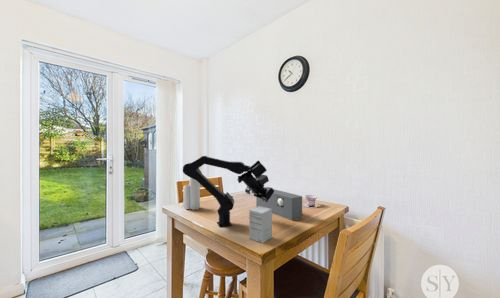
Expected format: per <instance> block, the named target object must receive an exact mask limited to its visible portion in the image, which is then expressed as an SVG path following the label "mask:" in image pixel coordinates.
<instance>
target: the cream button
mask: <svg viewBox="0 0 500 298" xmlns="http://www.w3.org/2000/svg"><path fill="white" fill-rule="evenodd" d="M278 205H279V206H284V198H279V199H278Z"/></svg>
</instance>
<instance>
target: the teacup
mask: <svg viewBox="0 0 500 298" xmlns="http://www.w3.org/2000/svg"><path fill="white" fill-rule="evenodd" d="M304 198H305V200H306V202H302V207H306V208H309V209H310V208H311V209H317V207H309V206H313V205H314V204H318V205H320V206H319V207H318V208H320V207H322V206H321V204H319V203H316V201H317V200H316V199H317V198H318V196H317V195H313V194H309V195H307V194H306V195H305V196H304ZM314 206H315V205H314Z"/></svg>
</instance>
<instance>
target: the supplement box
mask: <svg viewBox="0 0 500 298" xmlns="http://www.w3.org/2000/svg"><path fill="white" fill-rule="evenodd" d="M248 211H249V213H248V214H249V217H248V219H249V221H248V222H249V225H248V226H249V227H248V228H249V231H248V232H249V239H250V240H251V241H256V242H258V243H261V244H264V243H265V242H267V241H269V240H270V239H272V238H273V213H272V209H270V208H265V207H260V206H258V207H256V206H255V207H254V208H251V209H249V210H248Z"/></svg>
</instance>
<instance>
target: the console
mask: <svg viewBox="0 0 500 298" xmlns="http://www.w3.org/2000/svg"><path fill="white" fill-rule="evenodd" d="M266 187H267V186H264V188H266ZM273 189H274V188H273ZM279 198H284V206H279V205H278V199H279ZM255 200H256V201H255V203H256V205H255V208H256V207H258V206H260V207H265V208H270V209H272V214H274V215H277V216H279V217H281V218H284V219H286V220H290V221H297V220H299V219H303V206H302V204H303V196H302V195H299V194H295V193H290V192H287V191H282V190H278V189H276V188H275V189H274V193H273V194H272V196H271V197H270V199H269V200H268V201H264V200H263V199H260V198H258V197H255Z"/></svg>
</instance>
